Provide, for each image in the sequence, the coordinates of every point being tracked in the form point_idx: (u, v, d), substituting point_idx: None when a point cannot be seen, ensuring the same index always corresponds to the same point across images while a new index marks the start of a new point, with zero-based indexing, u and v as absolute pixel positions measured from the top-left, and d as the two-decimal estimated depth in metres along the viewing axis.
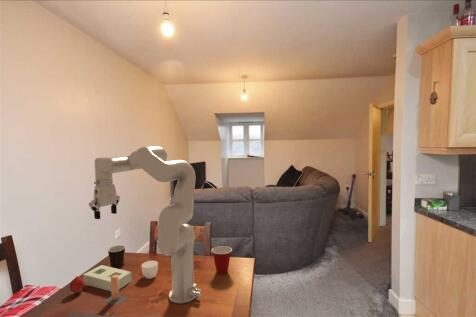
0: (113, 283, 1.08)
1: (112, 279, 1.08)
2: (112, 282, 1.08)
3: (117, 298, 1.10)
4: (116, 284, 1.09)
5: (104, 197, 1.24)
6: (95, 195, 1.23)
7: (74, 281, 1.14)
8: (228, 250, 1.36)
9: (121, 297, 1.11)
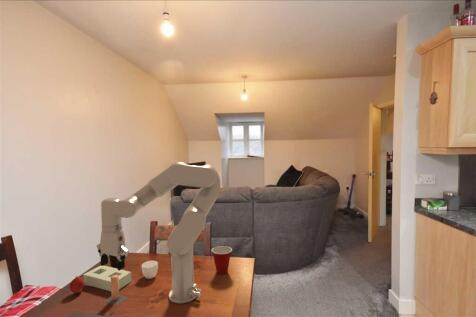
0: (113, 283, 1.08)
1: (112, 279, 1.08)
2: (112, 282, 1.08)
3: (117, 298, 1.10)
4: (116, 284, 1.09)
5: None
6: (120, 242, 1.06)
7: (74, 281, 1.14)
8: (228, 250, 1.36)
9: (121, 297, 1.11)
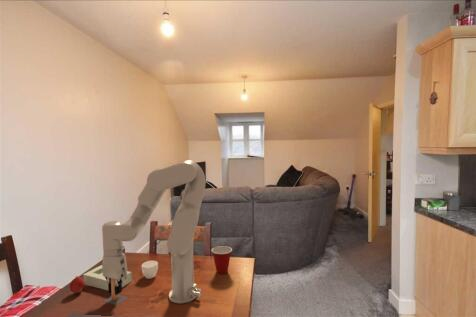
0: (113, 283, 1.08)
1: (112, 279, 1.08)
2: (112, 282, 1.08)
3: (117, 298, 1.10)
4: None
5: None
6: (121, 266, 1.07)
7: (74, 281, 1.14)
8: (228, 250, 1.36)
9: (121, 297, 1.11)
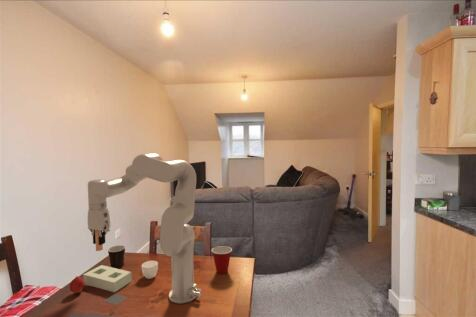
0: (97, 234, 1.21)
1: (96, 231, 1.21)
2: (96, 233, 1.21)
3: (100, 248, 1.22)
4: None
5: None
6: (105, 218, 1.20)
7: (74, 281, 1.14)
8: (228, 250, 1.36)
9: (121, 297, 1.11)
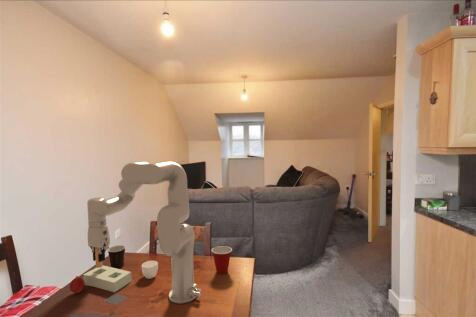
0: (97, 252, 1.23)
1: (96, 248, 1.23)
2: (96, 251, 1.23)
3: (100, 265, 1.24)
4: None
5: None
6: (104, 236, 1.22)
7: (74, 281, 1.14)
8: (228, 250, 1.36)
9: (121, 297, 1.11)
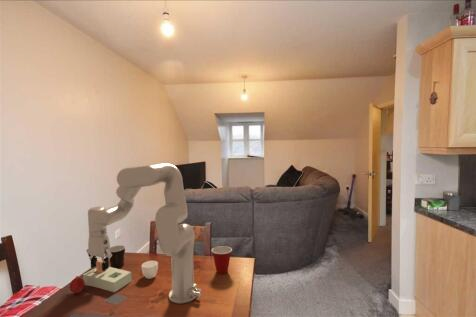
0: (98, 267, 1.24)
1: (97, 263, 1.24)
2: (97, 266, 1.24)
3: None
4: (100, 268, 1.24)
5: None
6: (105, 245, 1.22)
7: (74, 281, 1.14)
8: (228, 250, 1.36)
9: (121, 297, 1.11)
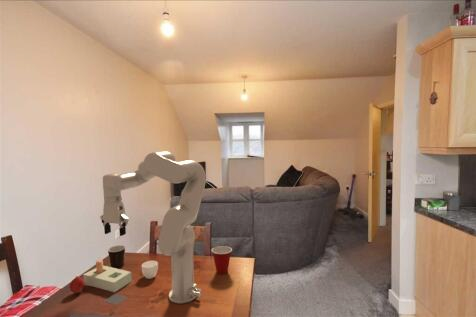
0: (98, 267, 1.24)
1: (97, 263, 1.24)
2: (97, 266, 1.24)
3: None
4: (100, 268, 1.24)
5: None
6: (120, 211, 1.22)
7: (74, 281, 1.14)
8: (228, 250, 1.36)
9: (121, 297, 1.11)
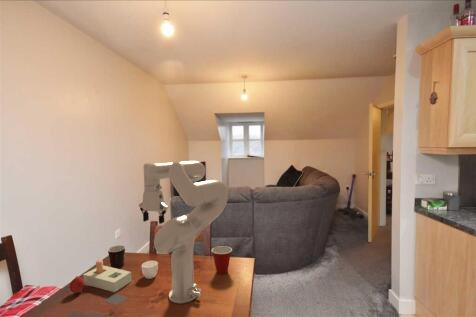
0: (98, 267, 1.24)
1: (97, 263, 1.24)
2: (97, 266, 1.24)
3: None
4: (100, 268, 1.24)
5: None
6: (160, 200, 1.24)
7: (74, 281, 1.14)
8: (228, 250, 1.36)
9: (121, 297, 1.11)
